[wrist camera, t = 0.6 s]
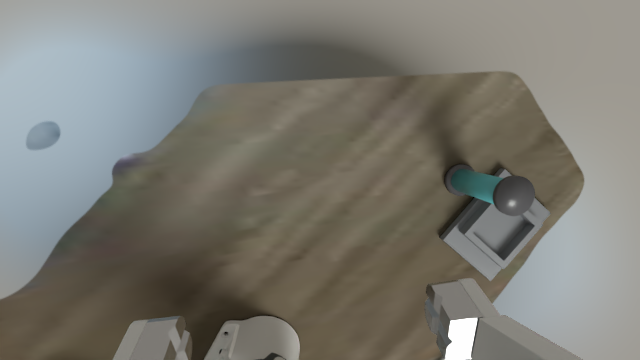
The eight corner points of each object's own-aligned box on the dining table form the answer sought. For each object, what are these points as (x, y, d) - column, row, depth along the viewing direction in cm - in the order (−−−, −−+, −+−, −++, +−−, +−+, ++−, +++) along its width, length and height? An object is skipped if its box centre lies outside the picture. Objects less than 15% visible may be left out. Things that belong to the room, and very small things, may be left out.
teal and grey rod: (459, 200, 66) (515, 224, 50) (438, 181, 65) (489, 199, 49) (479, 177, 66) (542, 193, 50) (458, 157, 65) (516, 168, 49)
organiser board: (486, 277, 69) (497, 285, 66) (439, 237, 67) (448, 243, 63) (544, 211, 69) (558, 215, 65) (500, 168, 66) (512, 170, 62)
